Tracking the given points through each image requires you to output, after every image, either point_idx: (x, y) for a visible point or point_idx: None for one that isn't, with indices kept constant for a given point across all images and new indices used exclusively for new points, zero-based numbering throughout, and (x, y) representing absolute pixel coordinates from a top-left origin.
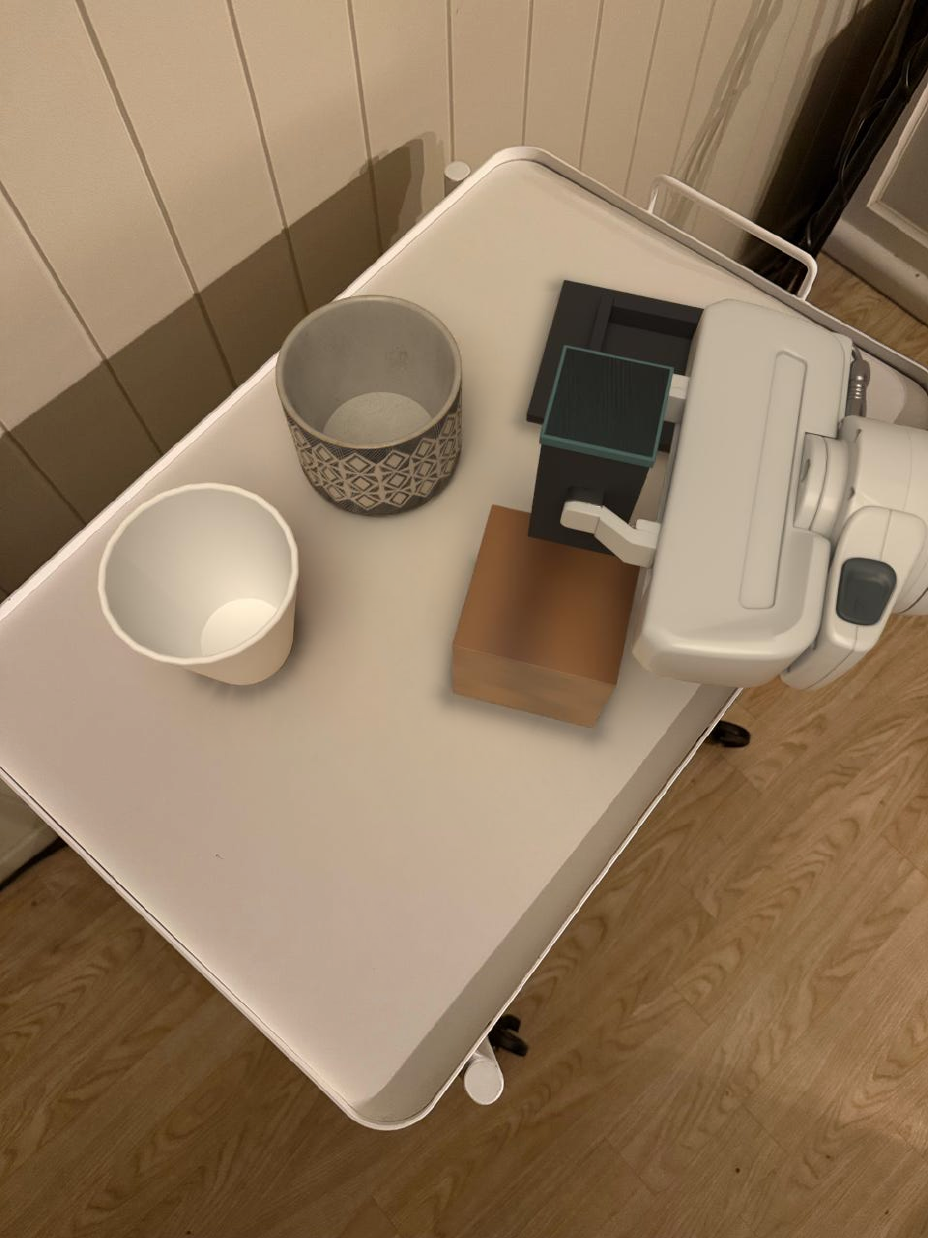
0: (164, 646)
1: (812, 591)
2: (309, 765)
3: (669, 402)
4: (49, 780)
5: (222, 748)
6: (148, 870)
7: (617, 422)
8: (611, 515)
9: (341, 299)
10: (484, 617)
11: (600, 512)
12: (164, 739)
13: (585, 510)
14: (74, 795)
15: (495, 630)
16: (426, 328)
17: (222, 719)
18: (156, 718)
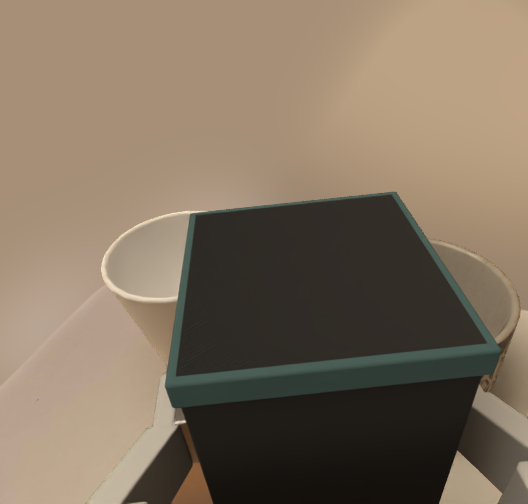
0: (153, 286)
1: None
2: (107, 432)
3: (517, 498)
4: (94, 300)
5: (119, 372)
6: (32, 365)
7: (259, 289)
8: (156, 446)
9: (469, 250)
10: (197, 481)
11: (162, 425)
12: (123, 339)
13: (161, 398)
14: (84, 313)
15: (183, 501)
16: (505, 315)
17: (141, 363)
18: (137, 330)
